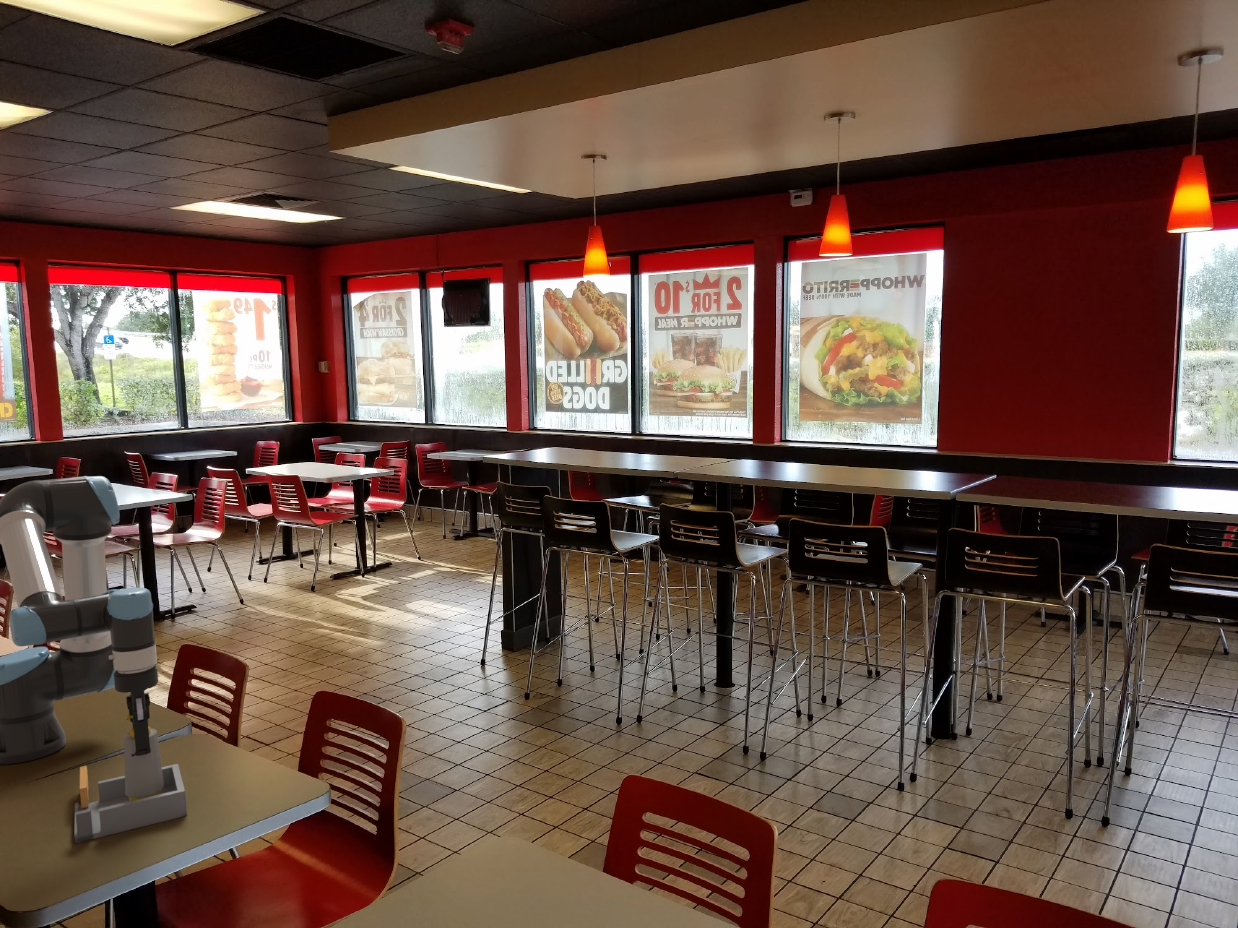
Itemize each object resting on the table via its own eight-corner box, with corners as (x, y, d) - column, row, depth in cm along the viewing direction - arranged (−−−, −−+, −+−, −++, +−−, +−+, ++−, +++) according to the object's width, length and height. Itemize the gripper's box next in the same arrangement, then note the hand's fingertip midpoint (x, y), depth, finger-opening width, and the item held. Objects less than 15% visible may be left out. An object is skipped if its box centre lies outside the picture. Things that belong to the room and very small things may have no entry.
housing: (75, 810, 176) (73, 784, 175) (179, 786, 185) (177, 761, 185) (75, 843, 163) (72, 815, 162) (186, 815, 173) (184, 788, 172)
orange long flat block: (81, 785, 184) (79, 766, 184) (88, 783, 185) (86, 765, 184) (81, 808, 174) (79, 788, 174) (88, 806, 175) (86, 787, 174)
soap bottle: (117, 803, 173) (110, 716, 170) (140, 785, 180) (134, 702, 177) (149, 805, 172) (143, 718, 170) (171, 787, 179) (166, 703, 177)
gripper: (112, 662, 177) (122, 774, 179) (114, 681, 165) (124, 801, 167) (154, 655, 181) (163, 765, 183) (159, 673, 169) (168, 791, 171)
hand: (144, 782), depth 175 cm, fingers closed on soap bottle
